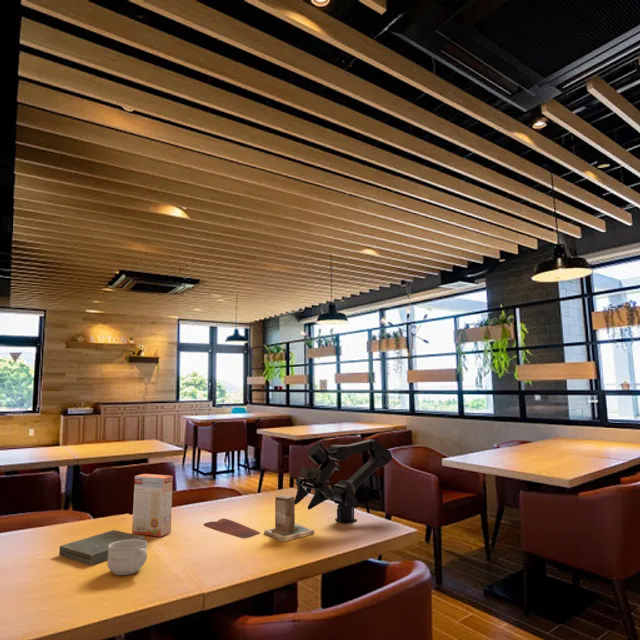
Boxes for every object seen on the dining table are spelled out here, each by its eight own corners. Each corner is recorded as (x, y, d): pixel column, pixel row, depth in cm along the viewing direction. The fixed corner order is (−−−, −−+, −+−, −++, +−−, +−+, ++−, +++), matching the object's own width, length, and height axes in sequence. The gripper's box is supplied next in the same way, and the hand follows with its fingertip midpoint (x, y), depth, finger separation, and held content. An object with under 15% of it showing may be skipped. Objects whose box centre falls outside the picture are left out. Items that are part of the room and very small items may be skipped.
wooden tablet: (201, 526, 184) (201, 522, 184) (223, 521, 191) (223, 516, 192) (241, 541, 166) (241, 536, 166) (264, 534, 173) (264, 529, 173)
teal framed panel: (295, 526, 181) (295, 522, 181) (314, 533, 171) (314, 530, 172) (264, 533, 172) (264, 529, 172) (282, 541, 163) (282, 537, 163)
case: (91, 567, 143) (145, 548, 160) (92, 553, 143) (146, 535, 160) (58, 557, 152) (113, 540, 169) (59, 544, 152) (113, 528, 169)
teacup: (101, 571, 138) (102, 543, 139) (137, 562, 146) (138, 534, 147) (119, 585, 128) (121, 554, 129) (157, 574, 136) (158, 545, 137)
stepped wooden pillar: (283, 527, 176) (283, 493, 177) (298, 529, 172) (298, 495, 174) (271, 531, 170) (271, 497, 172) (287, 535, 166) (286, 499, 168)
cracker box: (171, 533, 174) (173, 475, 177) (160, 538, 169) (162, 478, 172) (143, 528, 180) (145, 472, 183) (131, 533, 174) (133, 475, 177)
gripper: (298, 456, 189) (275, 488, 181) (326, 462, 174) (302, 497, 166) (314, 474, 193) (292, 506, 185) (343, 481, 178) (320, 516, 170)
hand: (301, 506), depth 176 cm, fingers open, 9 cm apart
